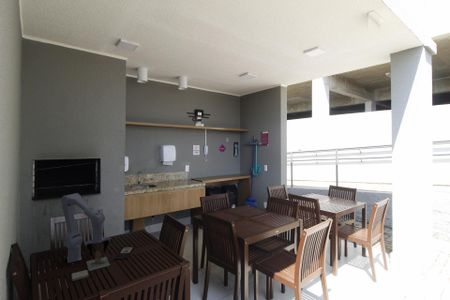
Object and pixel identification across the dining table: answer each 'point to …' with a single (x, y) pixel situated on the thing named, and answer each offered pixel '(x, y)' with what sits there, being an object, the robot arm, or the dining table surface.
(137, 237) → the dining table surface
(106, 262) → the mat
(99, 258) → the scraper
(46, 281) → the dining table surface
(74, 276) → the tile
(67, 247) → the robot arm
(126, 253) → the chocolate bar
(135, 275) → the dining table surface
